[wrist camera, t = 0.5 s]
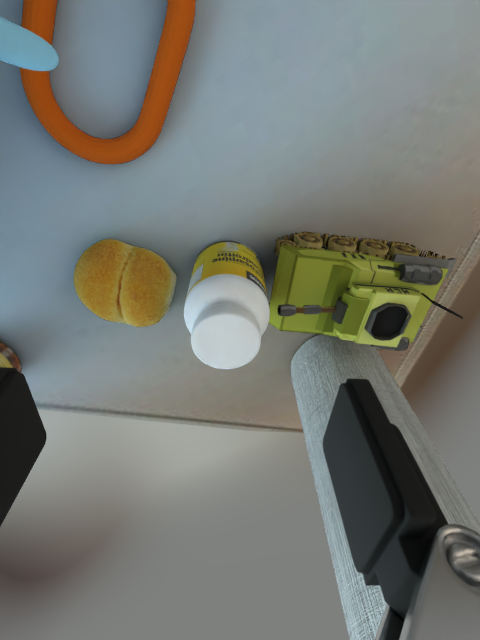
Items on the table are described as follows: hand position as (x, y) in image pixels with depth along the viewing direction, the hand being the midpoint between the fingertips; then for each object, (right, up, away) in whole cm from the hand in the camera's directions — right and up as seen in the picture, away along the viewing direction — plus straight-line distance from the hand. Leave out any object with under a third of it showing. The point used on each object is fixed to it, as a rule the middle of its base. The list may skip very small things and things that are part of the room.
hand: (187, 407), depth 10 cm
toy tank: (+11, +7, +22) cm, 26 cm away
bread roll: (-9, +7, +22) cm, 25 cm away
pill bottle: (0, +8, +22) cm, 23 cm away
